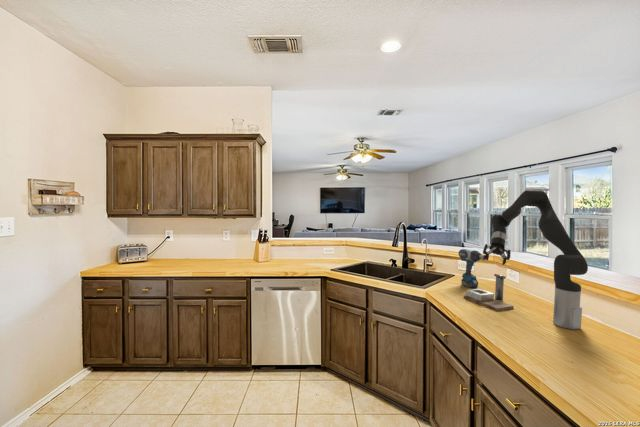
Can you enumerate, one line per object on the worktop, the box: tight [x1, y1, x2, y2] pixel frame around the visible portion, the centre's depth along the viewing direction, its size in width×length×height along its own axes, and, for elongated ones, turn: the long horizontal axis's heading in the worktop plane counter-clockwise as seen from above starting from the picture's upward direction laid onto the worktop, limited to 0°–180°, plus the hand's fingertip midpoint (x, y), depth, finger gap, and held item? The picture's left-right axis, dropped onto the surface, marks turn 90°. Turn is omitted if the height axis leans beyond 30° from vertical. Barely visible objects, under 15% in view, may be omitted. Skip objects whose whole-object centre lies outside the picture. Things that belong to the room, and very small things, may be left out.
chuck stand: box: [462, 288, 515, 312], centre depth 166 cm, size 22×12×5 cm, turn 21°
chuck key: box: [493, 273, 507, 301], centre depth 174 cm, size 7×4×14 cm, turn 21°
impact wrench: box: [458, 248, 487, 289], centre depth 199 cm, size 8×22×25 cm, turn 15°
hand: (495, 262), depth 175 cm, fingers open, 8 cm apart
